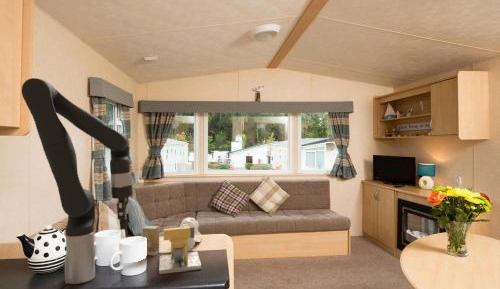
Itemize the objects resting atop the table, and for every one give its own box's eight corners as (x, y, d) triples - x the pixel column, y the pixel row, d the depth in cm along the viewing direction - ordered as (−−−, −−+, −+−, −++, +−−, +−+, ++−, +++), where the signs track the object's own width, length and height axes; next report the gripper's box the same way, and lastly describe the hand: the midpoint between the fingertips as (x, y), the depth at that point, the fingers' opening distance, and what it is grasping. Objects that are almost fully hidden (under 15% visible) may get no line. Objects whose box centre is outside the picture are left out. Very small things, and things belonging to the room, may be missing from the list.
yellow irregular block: (164, 249, 123) (163, 231, 123) (164, 244, 129) (163, 227, 129) (195, 246, 126) (194, 228, 126) (193, 241, 133) (193, 224, 132)
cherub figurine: (165, 229, 142) (177, 214, 162) (167, 255, 144) (179, 237, 164) (193, 228, 142) (202, 213, 161) (195, 254, 143) (204, 236, 163)
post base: (159, 274, 118) (158, 249, 118) (160, 259, 134) (159, 237, 134) (201, 268, 122) (200, 245, 122) (197, 254, 138) (196, 233, 138)
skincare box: (142, 255, 139) (141, 228, 139) (147, 251, 143) (146, 225, 143) (155, 255, 138) (154, 228, 138) (160, 252, 142) (159, 225, 142)
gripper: (114, 183, 126) (117, 223, 126) (107, 188, 112) (111, 232, 112) (133, 181, 127) (137, 220, 128) (129, 186, 114) (133, 229, 114)
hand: (125, 226), depth 120 cm, fingers open, 8 cm apart
